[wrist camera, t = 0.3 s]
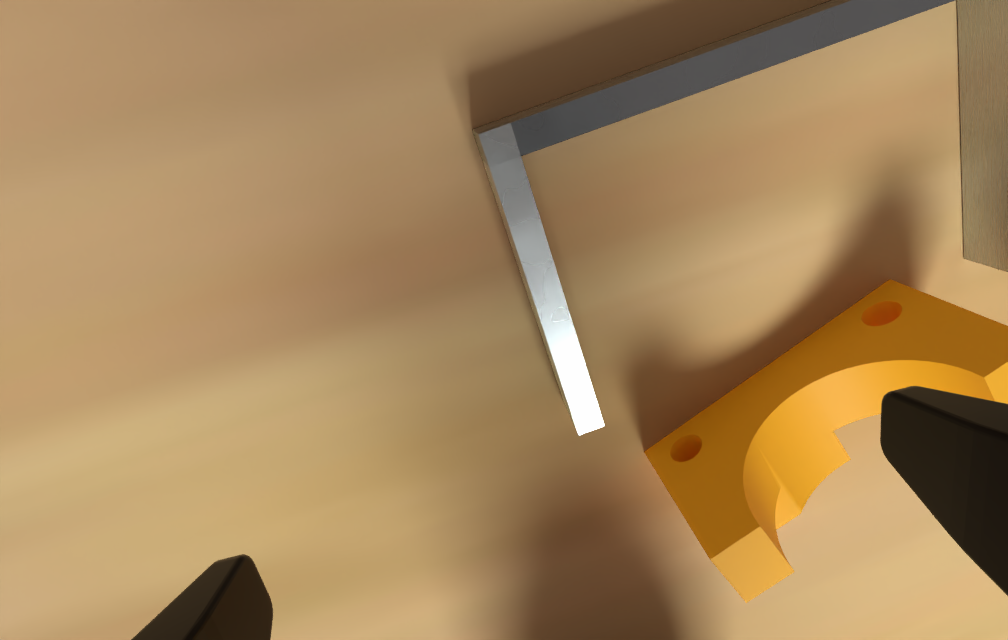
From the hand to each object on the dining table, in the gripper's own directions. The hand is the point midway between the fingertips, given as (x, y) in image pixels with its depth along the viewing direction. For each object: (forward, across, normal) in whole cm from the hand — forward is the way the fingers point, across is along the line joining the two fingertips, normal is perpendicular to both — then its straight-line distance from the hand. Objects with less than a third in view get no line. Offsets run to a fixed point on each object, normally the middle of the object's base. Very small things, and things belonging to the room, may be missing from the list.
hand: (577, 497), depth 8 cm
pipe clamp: (+15, -11, +9) cm, 21 cm away
